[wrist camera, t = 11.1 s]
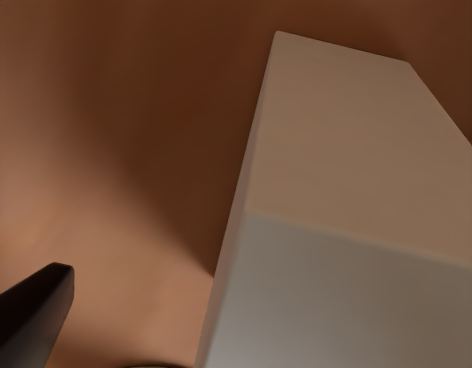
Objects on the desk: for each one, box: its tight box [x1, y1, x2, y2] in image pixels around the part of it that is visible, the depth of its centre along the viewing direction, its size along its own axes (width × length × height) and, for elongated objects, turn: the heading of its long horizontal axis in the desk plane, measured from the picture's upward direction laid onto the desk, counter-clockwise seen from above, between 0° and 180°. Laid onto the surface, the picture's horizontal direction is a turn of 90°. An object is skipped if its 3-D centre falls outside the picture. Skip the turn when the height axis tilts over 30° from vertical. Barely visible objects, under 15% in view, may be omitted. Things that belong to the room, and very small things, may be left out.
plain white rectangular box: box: [194, 31, 472, 368], centre depth 10 cm, size 4×9×8 cm, turn 168°
